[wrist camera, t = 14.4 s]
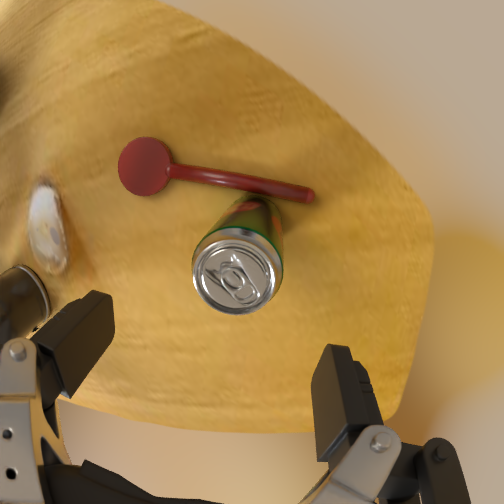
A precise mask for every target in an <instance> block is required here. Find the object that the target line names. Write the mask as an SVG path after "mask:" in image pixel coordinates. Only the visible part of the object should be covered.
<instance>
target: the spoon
mask: <svg viewBox="0 0 504 504" xmlns="http://www.w3.org/2000/svg"><path fill="white" fill-rule="evenodd" d="M118 173H119V177H120V180H121V182H122V184H123V185H124V186H125V188H126V189H127V190H128V191H130V192H131V193H133V194H135V195H138V196H149V195H152V194H155V193H157V192H159V191H160V190H162V189H163V188H164V187H165V186H166V185H167V183H168V182H169V180H170V178H173V179H180V180H186V181H192V182H198V183H204V184H210V185H216V186H221V187H227V188H232V189H237V190H243V191H248V192H253V193H258V194H263V195H268V196H273V197H277V198H282V199H287V200H291V201H296V202H300V203H305V204H309V203H311V202H312V201H313V200H314V198H315V194H314V191H313V190H312V189H310V188H307V187H303V186H299V185H294V184H290V183H285V182H281V181H276V180H271V179H266V178H261V177H256V176H251V175H246V174H240V173H235V172H229V171H223V170H217V169H211V168H205V167H199V166H192V165H185V164H178V163H173V159H172V155H171V153H170V151H169V149H168V147H167V146H166V145H165V144H164V143H163V142H162V141H160V140H158V139H156V138H152V137H140V138H137V139H135V140H133V141H131V142H130V143H129V144H127V146H126V147H125V148H124V149H123V151H122V153H121V155H120V158H119V162H118Z"/></svg>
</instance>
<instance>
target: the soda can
mask: <svg viewBox="0 0 504 504" xmlns="http://www.w3.org/2000/svg"><path fill="white" fill-rule="evenodd" d="M192 274H193V280H194V285H195V288H196V290H197V292H198V294H199V295H200V297H201V298H202V299H203V300H204V301H205V302H206V303H207V304H208V305H209V306H210V307H212V308H213V309H215V310H217V311H219V312H222V313H225V314H230V315H245V314H249V313H252V312H255V311H257V310H259V309H260V308H262V307H263V306H264V305H265V304H266V303H267V302H268V301H270V300H271V299H272V298H273V297H274V296H275V294H276V293H277V291H278V290H279V288H280V285H281V283H282V279H283V238H282V219H281V215H280V212H279V210H278V209H277V207H276V206H275V205H274V204H273V203H272V202H271V201H270V200H268V199H266V198H264V197H261V196H257V195H249V196H244V197H241V198H239V199H238V200H236V201H235V202H234V203H233V204H232V205H231V206H230V207H229V208H228V209H227V210H226V211H225V213H224V214H223V215H222V216H221V217H220V218H219V220H218V221H217V222H216V223H215V224H214V226H213V227H212V228H211V229H210V230H209V232H208V233H207V234H206V235H205V236H204V237H203V239H202V240H201V241H200V243H199V244H198V245H197V247H196V249H195V251H194V254H193V258H192Z"/></svg>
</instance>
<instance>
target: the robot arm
mask: <svg viewBox="0 0 504 504" xmlns="http://www.w3.org/2000/svg"><path fill="white" fill-rule="evenodd" d="M49 315H50V303H49V299H48V295H47V293H46V290H45V288H44V286H43V284H42V283H41V281H40V280H39V278H38V277H37V275H36V274H35V273H34V272H33V271H32V270H31V269H30V268H28V267H27V266H25V265H17V266H15V267H13V268H12V269H11V268H10V269H8V270H7V271H5V272H4V273H2V274H0V504H222V503H216V502H211V501H205V500H201V499H178V498H163V497H156V496H153V495H151V494H149V493H148V492H146V491H144V490H142V489H141V488H139V487H137V486H136V485H134V484H133V483H131V482H129V481H128V480H126V479H125V478H123V477H122V476H120V475H119V474H116V473H114V472H112V471H109V470H107V469H105V468H102V467H100V466H98V465H96V464H94V463H92V462H90V461H87V460H84V462H83V464H82V466H78V465H72V463H71V460H70V458H69V455H68V453H67V451H66V448H65V445H64V441H63V436H62V430H61V423H60V417H59V409H58V402H57V400H56V398H57V397H58V396H59V394H62V395H63V396H65V397H67V398H69V399H71V398H72V396H73V395H74V393H75V392H76V390H77V389H78V387H79V386H80V385H81V383H82V382H83V380H84V379H85V378H86V376H87V375H88V373H89V372H90V371H91V369H92V368H93V367H94V365H95V364H96V362H97V361H98V360H99V358H100V357H101V356H102V354H103V353H104V352H105V350H106V349H107V348H108V346H109V345H110V344H111V342H112V340H113V338H114V334H115V323H114V312H113V300H112V297H111V295H108V294H105V293H102V292H99V291H96V290H92V291H90V292H89V293H88V294H87V295H86V296H85V297H83V298H82V299H80V298H79V299H77V300H75V301H73V302H70V303H68V304H67V305H66V306H65V307H64V308H62V309H61V310H60V313H59V312H58V313H57V314H56V315H55V316H54V318H51V319H50V320H49V321H48V322H47V323H46V324H45V325H44V326H43V327H42V328H41V329H40V330H39V331H37V332H36V333H35V334H34V335H33V336H32V337H31V338H30V339H27V338H26V337H27V336H28V335H29V334H30V333H31V332H34V331H36V330H37V329H38V328H39V327H38V326H39V325H40V324H41V323H43V322H44V321H45V320H46V319H47V318H48V317H49ZM37 327H38V328H37ZM311 395H312V405H313V416H314V427H315V438H316V452H317V462H328V464H329V469H328V470H327V471H326V473H325V474H324V475H323V476H322V477H321V479H320V480H319V481H318V482H317V483H316V484H315V486H314V487H313V488H312V489H311V490H310V491H309V493H307V495H306V496H305V497H304V498H303V499H302V500H301V501H300V502H299V503H298V504H377V503H375V502H374V501H375V499H376V497H378V498H379V504H421V503H420V497H419V493H420V495H421V500H422V504H471V501H470V497H469V493H468V490H467V486H466V482H465V479H464V475H463V472H462V469H461V466H460V462H459V459H458V456H457V453H456V451H455V448H454V447H453V446H452V444H451V443H450V442H449V441H447V440H445V439H442V438H433V439H430V440H429V441H428V442H427V443H426V444H425V445H424V446H417V445H412V444H407V443H403V442H401V440H400V438H399V436H398V435H397V433H395V431H393V430H392V429H390V428H389V427H387V426H384V424H383V420H382V417H381V414H380V410H379V407H378V404H377V401H376V397H375V394H374V393H373V388H372V385H371V384H370V379H369V376H368V373H367V371H366V369H365V368H364V367H363V366H362V365H361V363H360V362H359V361H353V359H352V355H351V352H350V349H349V347H348V346H341V345H333V344H327V345H326V347H325V349H324V351H323V354H322V356H321V358H320V360H319V363H318V365H317V367H316V369H315V372H314V374H313V377H312V382H311Z"/></svg>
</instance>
